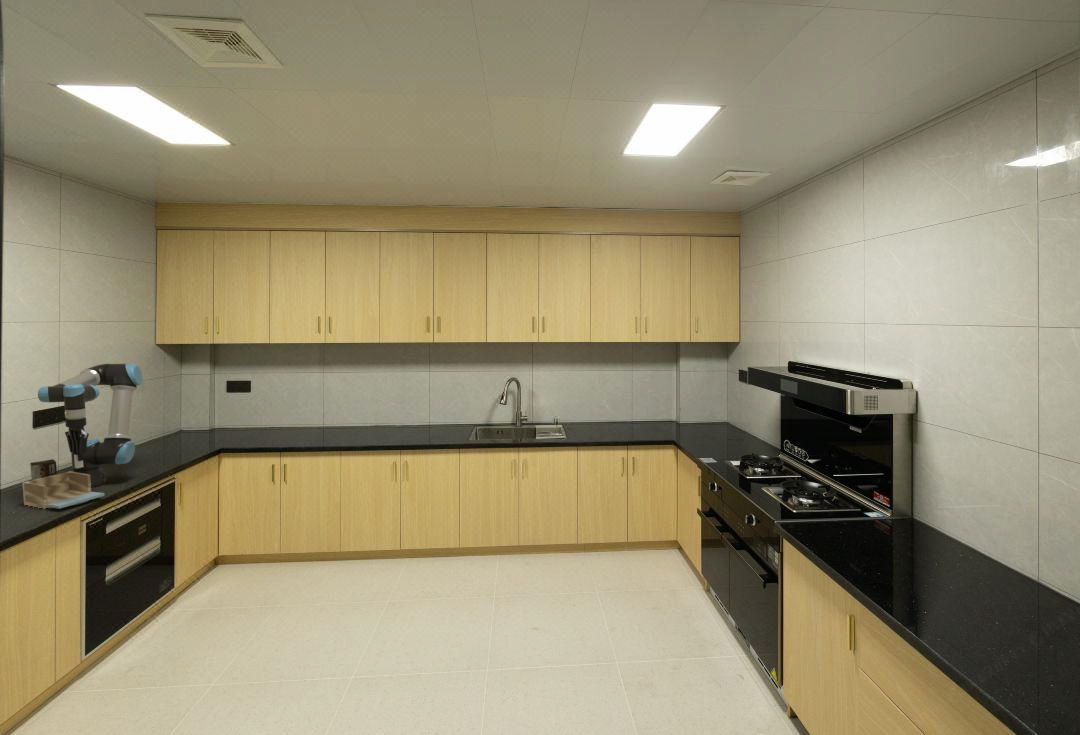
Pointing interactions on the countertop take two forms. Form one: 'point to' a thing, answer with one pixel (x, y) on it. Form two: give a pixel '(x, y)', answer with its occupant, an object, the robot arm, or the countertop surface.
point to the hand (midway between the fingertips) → (79, 467)
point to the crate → (55, 488)
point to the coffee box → (43, 469)
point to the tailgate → (75, 500)
